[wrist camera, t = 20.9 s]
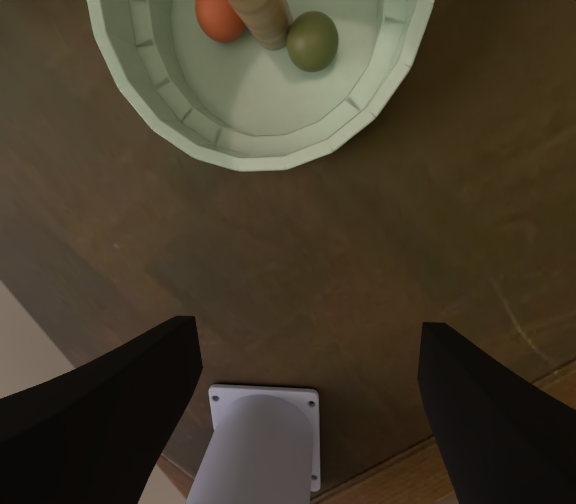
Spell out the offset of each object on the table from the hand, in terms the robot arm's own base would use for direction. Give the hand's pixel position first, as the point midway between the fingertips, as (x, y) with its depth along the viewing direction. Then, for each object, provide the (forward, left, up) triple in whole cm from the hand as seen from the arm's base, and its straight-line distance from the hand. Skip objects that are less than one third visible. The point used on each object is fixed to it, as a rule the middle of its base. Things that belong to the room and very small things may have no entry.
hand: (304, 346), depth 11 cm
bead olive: (+10, 0, -9) cm, 14 cm away
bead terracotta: (+12, +4, -9) cm, 15 cm away
